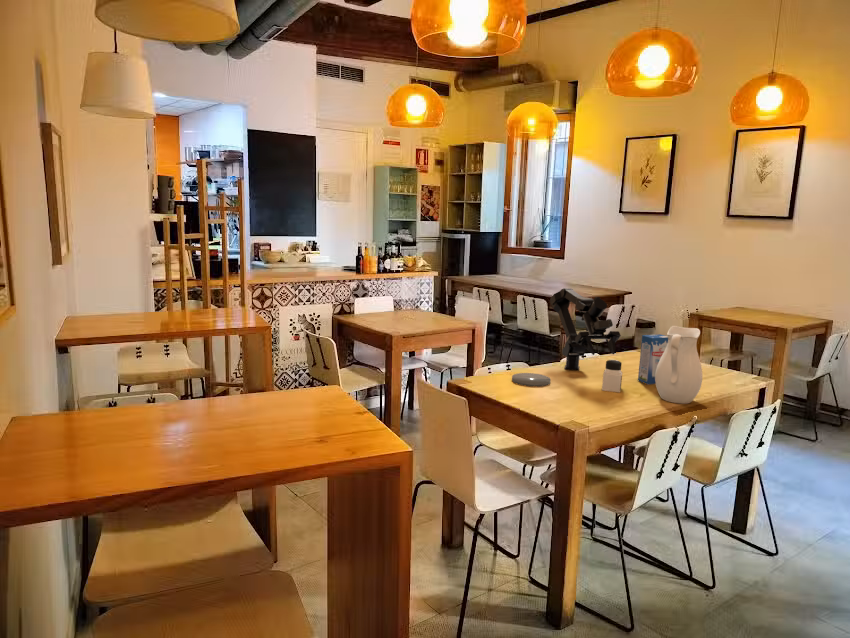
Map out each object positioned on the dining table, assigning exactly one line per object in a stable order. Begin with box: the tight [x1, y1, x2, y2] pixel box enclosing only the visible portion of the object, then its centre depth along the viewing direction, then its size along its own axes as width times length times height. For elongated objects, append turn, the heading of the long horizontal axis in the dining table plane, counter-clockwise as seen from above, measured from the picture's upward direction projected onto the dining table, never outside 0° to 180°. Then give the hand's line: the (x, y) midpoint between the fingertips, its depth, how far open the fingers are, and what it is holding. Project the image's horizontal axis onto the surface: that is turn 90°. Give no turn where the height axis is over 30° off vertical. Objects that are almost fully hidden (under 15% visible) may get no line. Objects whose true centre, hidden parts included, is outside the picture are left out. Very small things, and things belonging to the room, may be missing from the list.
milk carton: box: [637, 334, 668, 385], centre depth 269 cm, size 10×6×20 cm, turn 111°
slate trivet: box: [511, 372, 551, 388], centre depth 264 cm, size 16×16×2 cm
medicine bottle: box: [601, 359, 623, 393], centre depth 255 cm, size 7×7×12 cm
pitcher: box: [655, 325, 703, 405], centre depth 240 cm, size 24×17×28 cm
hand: (604, 354), depth 262 cm, fingers open, 9 cm apart
